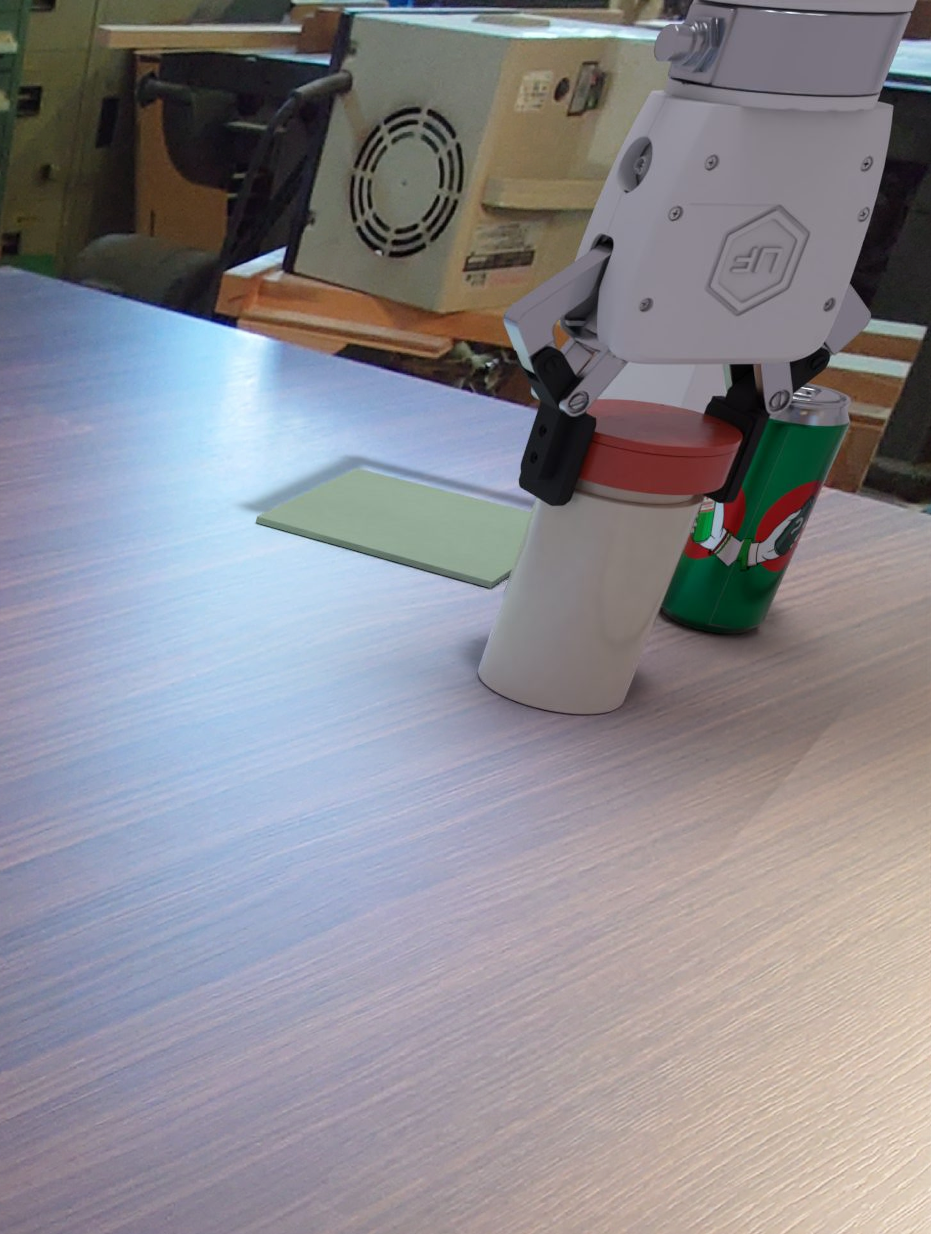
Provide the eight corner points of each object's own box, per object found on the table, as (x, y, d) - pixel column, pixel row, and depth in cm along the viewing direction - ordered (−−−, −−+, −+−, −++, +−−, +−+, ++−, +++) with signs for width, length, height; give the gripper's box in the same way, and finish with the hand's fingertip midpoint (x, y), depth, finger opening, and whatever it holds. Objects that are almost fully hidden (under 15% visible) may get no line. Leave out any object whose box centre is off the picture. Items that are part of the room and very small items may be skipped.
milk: (545, 499, 106) (674, 112, 94) (597, 484, 109) (729, 106, 97) (638, 528, 102) (786, 126, 90) (690, 511, 105) (840, 120, 93)
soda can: (761, 614, 91) (859, 389, 84) (758, 645, 87) (861, 412, 81) (658, 594, 93) (745, 371, 86) (651, 623, 89) (742, 394, 83)
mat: (577, 530, 101) (580, 524, 101) (490, 588, 93) (492, 581, 93) (354, 473, 109) (356, 467, 109) (255, 522, 101) (256, 516, 100)
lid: (592, 494, 73) (609, 446, 72) (515, 442, 79) (529, 397, 78) (759, 497, 73) (778, 449, 72) (669, 445, 79) (686, 400, 78)
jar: (626, 676, 83) (720, 438, 77) (620, 726, 79) (720, 476, 72) (484, 647, 86) (563, 414, 79) (470, 694, 81) (553, 449, 74)
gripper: (634, 68, 63) (488, 527, 73) (1053, 74, 65) (855, 520, 75) (525, 45, 69) (404, 471, 79) (911, 51, 71) (745, 467, 81)
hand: (625, 492), depth 77 cm, fingers closed on lid, 7 cm apart
